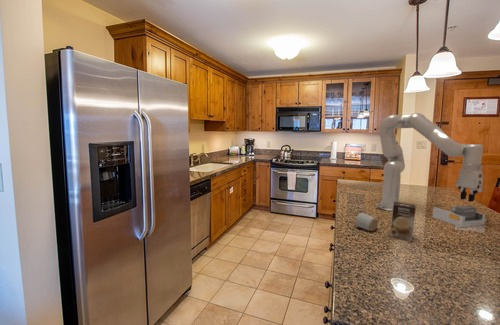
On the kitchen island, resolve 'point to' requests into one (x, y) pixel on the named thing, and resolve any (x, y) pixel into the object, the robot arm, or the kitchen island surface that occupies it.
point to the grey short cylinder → (366, 222)
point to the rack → (457, 217)
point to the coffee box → (402, 221)
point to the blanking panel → (466, 211)
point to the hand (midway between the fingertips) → (467, 199)
